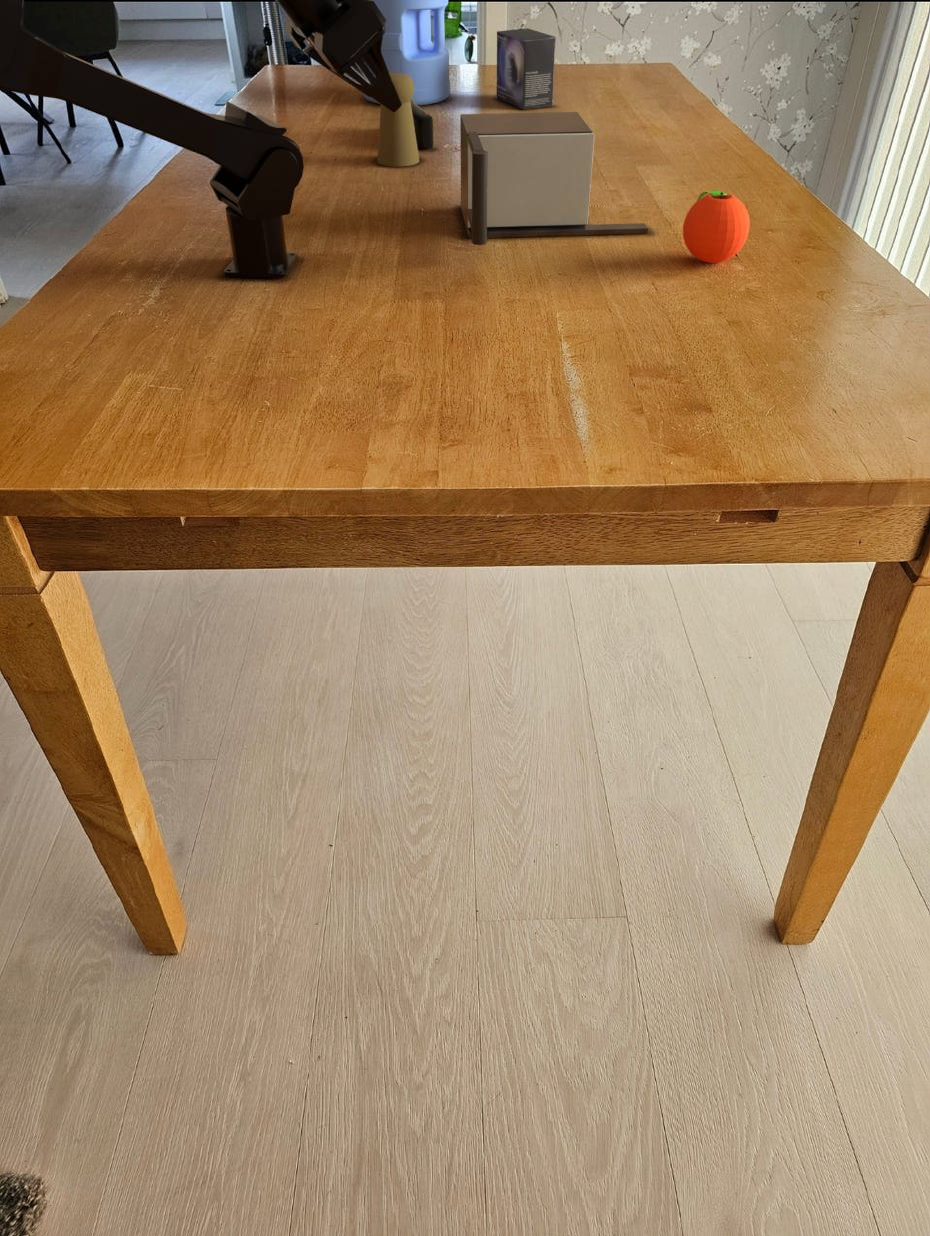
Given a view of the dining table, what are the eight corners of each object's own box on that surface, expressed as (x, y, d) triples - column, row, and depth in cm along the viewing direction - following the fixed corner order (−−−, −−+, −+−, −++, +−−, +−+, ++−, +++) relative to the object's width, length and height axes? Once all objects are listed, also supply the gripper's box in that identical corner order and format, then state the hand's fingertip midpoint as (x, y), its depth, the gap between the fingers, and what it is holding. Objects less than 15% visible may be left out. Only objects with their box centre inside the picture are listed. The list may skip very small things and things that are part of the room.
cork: (369, 163, 134) (363, 75, 127) (391, 153, 138) (387, 68, 131) (405, 168, 132) (402, 79, 125) (427, 158, 136) (424, 72, 129)
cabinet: (468, 238, 108) (468, 139, 102) (460, 207, 118) (460, 114, 111) (647, 233, 110) (659, 134, 103) (625, 203, 119) (635, 110, 112)
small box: (493, 98, 168) (494, 30, 161) (525, 95, 170) (528, 27, 163) (520, 110, 160) (523, 38, 154) (554, 106, 163) (557, 36, 156)
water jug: (349, 104, 164) (334, -97, 146) (381, 87, 176) (371, -101, 158) (434, 109, 161) (429, -96, 143) (461, 91, 172) (460, -100, 155)
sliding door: (472, 256, 101) (472, 154, 95) (464, 226, 109) (464, 130, 103) (603, 252, 102) (612, 151, 96) (586, 223, 110) (594, 127, 103)
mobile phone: (436, 114, 137) (403, 91, 147) (417, 115, 136) (385, 93, 147) (436, 151, 140) (404, 126, 151) (417, 152, 139) (386, 128, 150)
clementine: (661, 252, 105) (670, 184, 100) (715, 244, 107) (726, 177, 102) (700, 275, 99) (711, 204, 94) (756, 267, 101) (769, 197, 96)
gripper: (371, -117, 77) (476, 55, 87) (322, -114, 91) (418, 33, 101) (272, -17, 79) (387, 140, 89) (239, -29, 93) (341, 108, 103)
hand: (385, 101), depth 95 cm, fingers open, 9 cm apart
